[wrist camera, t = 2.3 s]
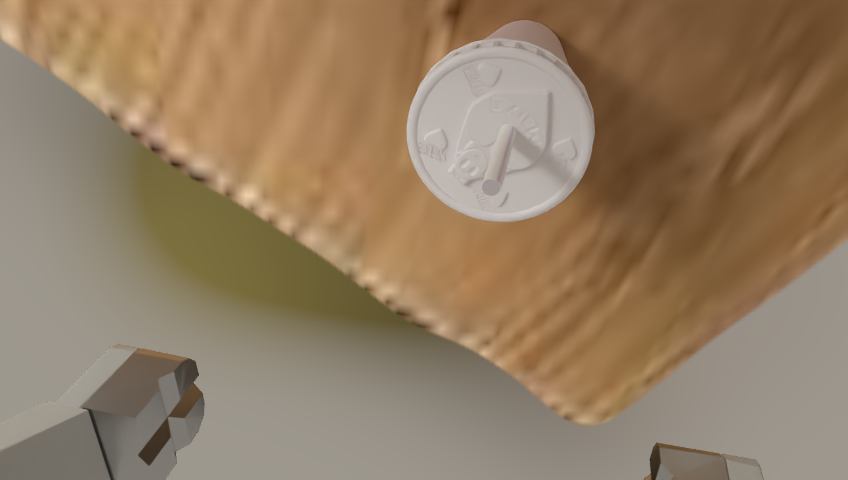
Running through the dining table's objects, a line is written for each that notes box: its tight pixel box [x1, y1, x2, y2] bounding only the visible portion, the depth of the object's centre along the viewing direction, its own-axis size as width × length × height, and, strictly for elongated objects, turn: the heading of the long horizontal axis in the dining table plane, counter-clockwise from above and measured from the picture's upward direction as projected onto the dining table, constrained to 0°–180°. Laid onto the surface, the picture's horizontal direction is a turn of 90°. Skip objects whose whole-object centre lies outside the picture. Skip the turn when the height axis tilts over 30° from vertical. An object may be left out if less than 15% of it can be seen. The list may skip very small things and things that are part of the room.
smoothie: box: [407, 20, 595, 222], centre depth 25 cm, size 6×6×14 cm
